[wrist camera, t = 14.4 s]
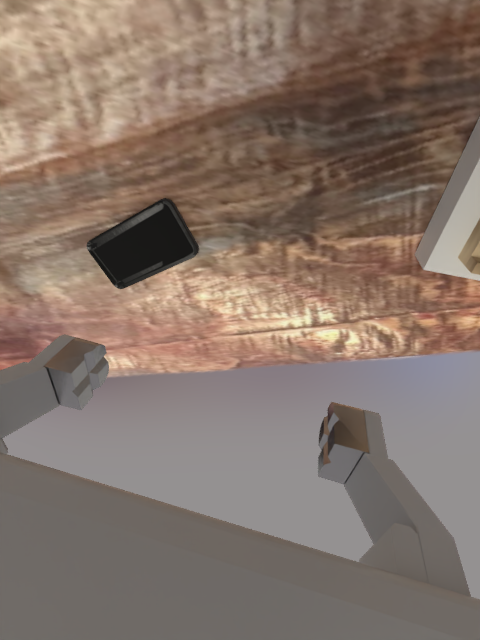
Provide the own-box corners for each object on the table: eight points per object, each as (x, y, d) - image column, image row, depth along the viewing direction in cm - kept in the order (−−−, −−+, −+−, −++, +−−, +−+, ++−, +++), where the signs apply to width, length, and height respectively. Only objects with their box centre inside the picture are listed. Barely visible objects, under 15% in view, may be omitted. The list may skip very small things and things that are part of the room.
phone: (83, 244, 43) (166, 196, 37) (88, 241, 44) (170, 194, 38) (118, 291, 47) (200, 255, 40) (122, 287, 47) (203, 252, 41)
